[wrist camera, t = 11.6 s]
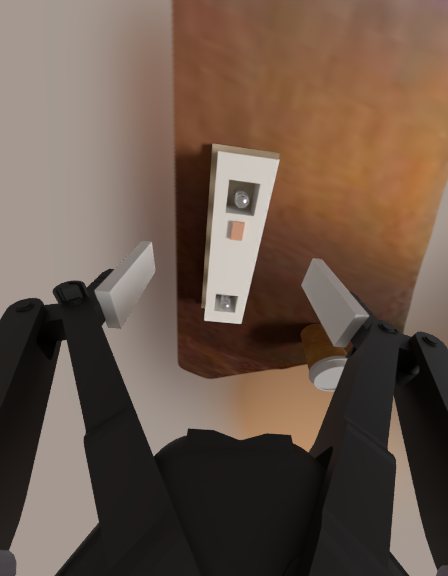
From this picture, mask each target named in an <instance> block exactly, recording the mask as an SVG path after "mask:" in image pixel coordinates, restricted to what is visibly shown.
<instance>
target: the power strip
mask: <svg viewBox="0 0 448 576" xmlns="http://www.w3.org/2000/svg"><path fill="white" fill-rule="evenodd" d="M278 164H279V160H276V159H270V158H263V157H256V156H249V155H242V154H235V153H228V152H221V151H218V159H217V171H216V183H215V196H214V208H213V220H212V232H211V245H210V257H209V269H208V281H207V293H206V306H205V318H204V320H205V321H215V322H226V323H237V324H241V323H242V318H243V314H244V310H245V305H246V301H247V297H248V293H249V288H250V284H251V280H252V275H253V271H254V267H255V263H256V258H257V254H258V250H259V246H260V241H261V237H262V233H263V228H264V224H265V220H266V216H267V211H268V207H269V203H270V198H271V194H272V190H273V186H274V181H275V177H276V173H277V169H278ZM229 180H236V181H243V182H251V183H255V185H254V190H253V195H252V201H251V206H250V208H246V207H245V208H238V207H237V206H230V205H226V204H227V195H228V186H229ZM216 294H222V295H232V296H230V299H231V306H230V308H229V309H228V310H223V309H222V308H221V306H220V303H221V295H216Z"/></svg>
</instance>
